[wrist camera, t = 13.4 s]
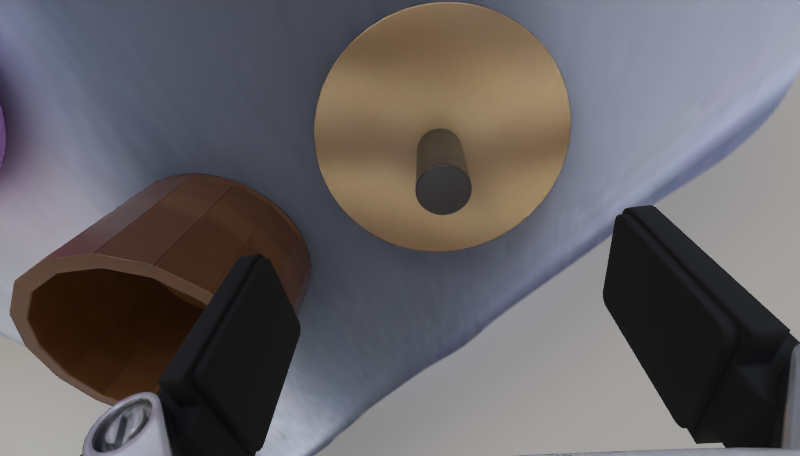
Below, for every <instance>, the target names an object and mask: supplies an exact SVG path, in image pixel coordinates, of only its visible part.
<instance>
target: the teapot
mask: <svg viewBox="0 0 800 456" xmlns="http://www.w3.org/2000/svg"><path fill="white" fill-rule="evenodd" d="M5 143H6V132H5V123H4V117H3V113H2V109H1V105H0V168H1V164H2V160H3V156H4V152H5Z"/></svg>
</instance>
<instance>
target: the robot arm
mask: <svg viewBox="0 0 800 456" xmlns="http://www.w3.org/2000/svg"><path fill="white" fill-rule="evenodd" d="M603 299H604V303H605V305H606V307H607V309H608V310H609V312H610V313H611V315H612V317H613V319H614V320H615V322H616V324H617V325H618V327H619V329H620V330H621V332H622V334H623V335H624V337H625V339H626V340H627V342H628V344H629V345H630V347H631V349H632V350H633V352H634V354H635V355H636V357H637V359H638V360H639V362H640V364H641V365H642V367H643V368H644V370H645V372H646V374H647V375H648V377H649V379H650V380H651V382H652V384H653V385H654V387H655V389H656V390H657V392H658V394H659V395H660V397H661V398H662V400H663V402H664V404H665V405H666V407H667V408H668V410H669V412H670V414H671V415H672V417H673V419H674V420H675V422H676V423H677V424H678V425H679V426H680V427H682V428H687V429H688V431H689V432H690V434H691V436H692V437H693V439H694V441H695V442H696V444H701V443H721V442H722V443H723V445H724V446H725V447H726V448H706V449H666V450H636V451H615V452H614V451H613V452H590V453H569V454H544V455H520V456H800V342H799V341H797V340H796V339H795V338H794V337H793V336H792V335H791V334H790V333H789V332H790V329H788V328H787V327H786V326H785V325H784V324H783V323H782V322H781V321H780V320H779V319H777V318H776V317H775V316H774V315H773V314H772V313H771V312H770V311H769V310H768V309H766V308H765V307H764V306H763V305H762V304H761V303H760V302H759V301H758V300H757V299H755V298H754V297H753V296H752V295H751V294H750V293H749V292H748V291H747V290H746V289H745V288H743V287H742V286H741V285H740V284H739V283H738V282H737V281H736V280H735V279H733V278H732V277H731V276H730V275H729V274H728V273H727V272H726V271H725V270H724V269H723V268H721V267H720V266H719V265H718V264H717V263H716V262H715V261H714V260H713V259H712V258H710V257H709V256H708V255H707V254H706V253H705V252H704V251H703V250H701V248H700V247H698V246H697V245H696V244H695V243H694V242H693V241H692V240H691V239H690V238H688V237H687V236H686V235H685V234H684V233H683V232H682V231H681V230H680V229H678V228H677V227H676V226H675V225H674V224H673V223H672V222H671V221H670V220H669V219H668V218H667V217H665V216H664V215H663V214H662V213H661V212H660V211H659V210H658V209H657V208H656V207H654V206H652V205H647V206H639V207H631V208H626V209H624V211H623V213H622V214H621V215H618V216H617V217H616V219H615V224H614V230H613V236H612V242H611V248H610V254H609V259H608V265H607V272H606V277H605V283H604V289H603ZM300 330H301V329H300V323H299V320H298V318H297V316H296V314H295V312H294V309H293V307H292V305H291V303H290V301H289V299H288V296H287V294H286V292H285V290H284V288H283V286H282V283H281V281H280V279H279V277H278V275H277V273H276V270H275V268H274V266H273V264H272V262H271V260H270V259H269V258H265V257H264V256H263V255H262V254H254V255H246V256H241V257H239V258H238V259H237V261H236V262H235V264H234V265H233V267H232V268H231V270H230V271H229V273H228V274H227V276H226V277H225V279H224V280H223V282H222V283H221V285H220V286H219V288H218V290H217V291H216V293H215V294H214V296H213V297H212V299H211V300H210V302H209V303H208V305H207V306H206V308H205V309H204V311H203V312H202V314H201V315H200V317H199V319H198V320H197V322H196V323H195V325H194V326H193V328H192V329H191V331H190V332H189V334H188V335H187V337H186V338H185V340H184V341H183V343H182V344H181V346H180V348H179V349H178V351H177V352H176V354H175V355H174V357H173V358H172V360H171V361H170V363H169V364H168V366H167V367H166V369H165V370H164V372H163V373H162V375H161V377H160V378H159V380H158V381H157V383H158V384H159V385H160V386H161V387H160V388H159V390H158V392H157V393H156V394H154V393H152V392H141V393H137V394H134V395H131V396H129V397H127V398H125V399H123V400H121V401H119V402H118V403H116V404H115V405H114V406H112V407H111V408H109V409H108V410H107V411H106V412H105V413H104V414H103V415H102V416H101V417H99V419H98V420H97V421H96V422H95V424H94V425H93V426H92V427H91V429H90V430H89V432H88V434H87V436H86V438H85V440H84V445H83V453H82V455H81V456H255V454H256V451H259V450H261V448H262V447H263V444H264V442H265V439H266V436H267V433H268V430H269V427H270V424H271V421H272V418H273V414H274V411H275V408H276V405H277V402H278V399H279V396H280V393H281V390H282V387H283V384H284V381H285V378H286V375H287V372H288V369H289V366H290V363H291V360H292V357H293V354H294V351H295V348H296V345H297V342H298V339H299V336H300Z"/></svg>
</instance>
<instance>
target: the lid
mask: <svg viewBox="0 0 800 456" xmlns="http://www.w3.org/2000/svg"><path fill="white" fill-rule="evenodd" d="M570 131H571V112H570V105H569V98H568V93H567V90H566V87H565V83H564V80H563V77H562V75H561V73H560V71H559V69H558V67H557V65H556V63H555V61H554V60H553V58H552V57H551V55H550V54H549V52H548V51H547V49H546V48H545V47H544V46H543V45H542V43H541V42H540V41H539V40H538V39H537V38H536V37H535V36H534V35H533V34H532V33H531V32H529V31H528V30H527V29H526V28H524V27H523V26H522V25H520V24H519V23H518V22H516V21H514V20H513V19H511V18H509V17H507V16H505V15H503V14H502V13H500V12H497V11H494V10H491V9H488V8H485V7H483V6H478V5H473V4H468V3H462V2H435V3H427V4H420V5H417V6H413V7H409V8H406V9H402V10H400V11H398V12H396V13H393V14H391V15H389V16H387V17H385V18H383V19H381V20H380V21H378V22H377V23H375V24H373V25H372V26H370V27H369V28H367V29H366V30H365V31H364V32H362V33H361V34H360V35H359V36H358V37H357V38H355V39H354V40H353V41H352V42H351V43H350V44H349V46H348V47H347V48H346V49H345V50H344V51H343V52H342V54H341V55H340V56H339V58H338V59H337V61H336V62H335V64H334V65H333V67H332V68H331V70H330V72H329V74H328V76H327V78H326V80H325V82H324V84H323V87H322V90H321V93H320V96H319V99H318V103H317V108H316V114H315V120H314V141H315V151H316V156H317V160H318V164H319V168H320V170H321V173H322V176H323V178H324V181H325V183H326V185H327V187H328V188H329V190H330V192H331V194H332V196H333V197H334V198H335V200H336V201H337V203H338V204H339V205H340V207H341V208H342V209H343V210H344V211H345V212H346V213H347V214H348V216H349V217H351V218H352V219H353V220H354V221H355V222H356V223H357V224H359V225H360V226H361V227H363V228H364V229H365V230H367V231H368V232H370V233H371V234H373V235H375V236H377V237H379V238H381V239H383V240H385V241H387V242H390V243H392V244H395V245H398V246H402V247H405V248H409V249H415V250H421V251H435V252H440V251H454V250H460V249H466V248H469V247H473V246H477V245H480V244H483V243H485V242H488V241H490V240H493V239H495V238H497V237H499V236H501V235H502V234H504V233H506V232H508V231H509V230H511V229H512V228H514V227H515V226H517V225H518V224H519V223H521V222H522V221H523V220H524V219H525V218H527V217H528V216H529V215H530V214H531V213H532V212H533V211H534V210H535V209H536V208H537V207H538V206H539V205H540V203H541V202H542V201H543V199H544V198H545V197H546V195H547V194H548V193H549V191H550V190H551V188H552V186H553V185H554V183H555V181H556V179H557V178H558V175H559V173H560V171H561V168H562V166H563V164H564V160H565V157H566V153H567V150H568V145H569V138H570Z"/></svg>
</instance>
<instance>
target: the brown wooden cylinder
mask: <svg viewBox="0 0 800 456" xmlns="http://www.w3.org/2000/svg"><path fill="white" fill-rule="evenodd" d="M254 254H262V255H263V256H264V257H265V258H269V259H270V260H271V262H272V264H273V266H274V268H275V270H276V273H277V275H278V277H279V279H280V281H281V283H282V286H283V288H284V290H285V292H286V294H287V296H288V299H289V301H290V303H291V305H292V307H293V309H294V312H295V314H296V316H297V315H298V313H299V310H300V308H301V305H302V302H303V300H304V297H305V295H306V292H307V287H308V283H309V278H310V268H311V265H310V257H309V253H308V250H307V246H306V244H305V242H304V240H303V237H302V236H301V234H300V232H299V231H298V229H297V227H296V226H295V225H294V224H293V222H292V221H291V220H290V219H289V217H288V216H287V215H286V214H285V213H284V212H283V211H282V210H281V209H280V208H279V207H277V206H276V205H275V204H274V203H273V202H271V201H270V200H269V199H267V198H266V197H264V196H263V195H261V194H260V193H258V192H256V191H254V190H252V189H250V188H249V187H247V186H245V185H242V184H240V183H237V182H234V181H232V180H228V179H225V178H221V177H217V176H211V175H204V174H185V175H177V176H172V177H168V178H165V179H163V180H160V181H156V182H154V183H153V184H151V185H150V186H148V187H147V188H145V189H144V190H142V191H141V192H140V193H138V194H137V195H135V196H134V197H132V198H131V199H129V200H128V201H127V202H125V203H124V204H122V205H121V206H119V207H118V208H116V209H115V210H114V211H112V212H111V213H109V214H108V215H106V216H105V217H103V218H102V219H100V220H99V221H98V222H96V223H95V224H93V225H92V226H90V227H89V228H87V229H86V230H85V231H83V232H82V233H80V234H79V235H77V236H76V237H74V238H73V239H72V240H70V241H69V242H67V243H66V244H64V245H63V246H61V247H60V248H59V249H57V250H56V251H54V252H53V253H51V254H50V255H48V256H47V257H46V258H44V259H43V260H41V261H40V262H39V263H37V264H36V265H35V266H33V267H32V268H31V269H29V270H28V271H27V272H26V273H24V274H23V275H22V276H20V277H19V278H18V279H16V280H15V281H14V286H13V293H12V300H11V307H10V316H11V318H12V320H13V322H14V324H15V326H16V328H17V330H18V332H19V334H20V336H21V338H22V340H23V342H24V344H25V346H26V347H27V348H28V349H29V350H30V351H31V352H32V353H33V354H34V355H35V356H36V357H38V359H40V360H41V361H42V362H43V363H44V364H45V365H46V366H47V367H48V368H49V369H50V370H51V371H52V372H53V373H55V375H56V376H58V377H59V378H60V379H62V380H64V381H65V382H67V383H69V384H70V385H72V386H74V387H75V388H77V389H79V390H80V391H82V392H84V393H85V394H87V395H89V396H90V397H92V398H94V399H96V400H98V401H100V402H103V403H105V404H108V405H111V406H114V405H115V404H116V403H118V402H119V401H121V400H123V399H125V398H127V397H129V396H131V395H134V394H137V393H141V392H152V393H154V394H156V393H157V392H158V390H159V388H160V387H161V386H160V385H159V384H158V383H157V381H158V380H159V378H160V377H161V375H162V373H163V372H164V370H165V369H166V367H167V366H168V364H169V363H170V361H171V360H172V358H173V357H174V355H175V354H176V352H177V351H178V349H179V348H180V346H181V344H182V343H183V341H184V340H185V338H186V337H187V335H188V334H189V332H190V331H191V329H192V328H193V326H194V325H195V323H196V322H197V320H198V319H199V317H200V315H201V314H202V312H203V311H204V309H205V308H206V306H207V305H208V303H209V302H210V300H211V299H212V297H213V296H214V294H215V293H216V291H217V290H218V288H219V286H220V285H221V283H222V282H223V280H224V279H225V277H226V276H227V274H228V273H229V271H230V270H231V268H232V267H233V265H234V264H235V262H236V261H237V259H238V258H239V257H241V256H246V255H254Z"/></svg>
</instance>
